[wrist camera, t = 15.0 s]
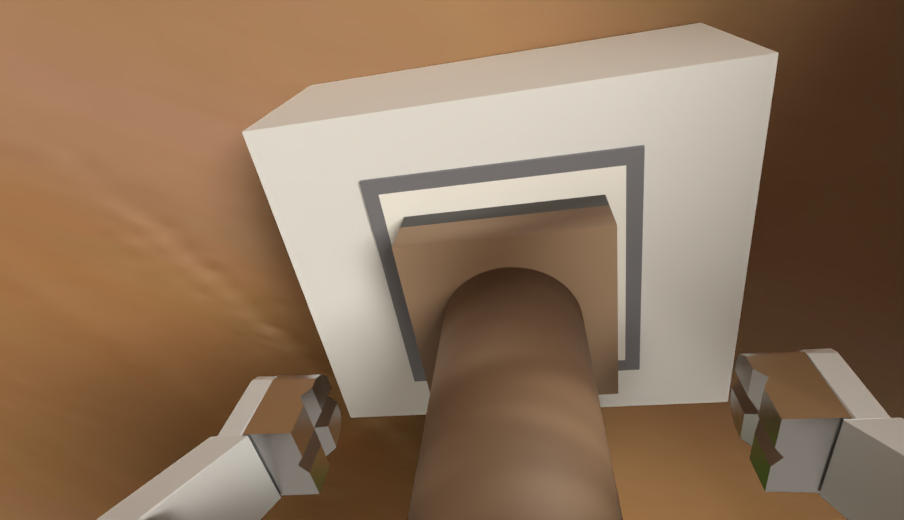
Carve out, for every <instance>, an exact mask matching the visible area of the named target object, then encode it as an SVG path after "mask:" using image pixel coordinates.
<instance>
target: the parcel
mask: <svg viewBox="0 0 904 520" xmlns="http://www.w3.org/2000/svg"><path fill="white" fill-rule="evenodd" d="M778 54H779V53H778V52H776V51H773V50H770V49H768V48H765V47H763V46H760V45H758V44H755V43H752V42H750V41H747V40H745V39H742V38H740V37H737V36H734V35H732V34H729V33H727V32H724V31H721V30H719V29H716V28H714V27H711V26H709V25H706V24H703V23H695V24H689V25H683V26H677V27H670V28H664V29H658V30H652V31H645V32H639V33H633V34H627V35H620V36H614V37H608V38H602V39H596V40H589V41H583V42H577V43H571V44H564V45H558V46H552V47H546V48H540V49H533V50H527V51H521V52H515V53H508V54H502V55H496V56H490V57H483V58H477V59H471V60H465V61H459V62H452V63H446V64H440V65H434V66H427V67H421V68H415V69H409V70H403V71H396V72H390V73H384V74H378V75H371V76H365V77H359V78H353V79H347V80H340V81H334V82H328V83H322V84H315V85H310V86H309V87H307V88H306V89H304V90H303V91H301V92H300V93H298V94H297V95H295V96H294V97H293V98H291V99H290V100H288V101H287V102H285V103H284V104H282V105H281V106H279V107H278V108H276V109H275V110H273V111H272V112H271V113H269V114H268V115H266V116H265V117H263V118H262V119H260V120H259V121H257V122H256V123H254V124H253V125H251V126H250V127H248V128H247V129H246V130H244V131H243V132H242V133H243V136H244V139H245V141H246V144H247V147H248V149H249V152H250V154H251V157H252V160H253V162H254V165H255V168H256V170H257V173H258V175H259V178H260V181H261V183H262V186H263V189H264V191H265V194H266V196H267V199H268V202H269V204H270V207H271V210H272V212H273V215H274V217H275V220H276V223H277V225H278V228H279V231H280V233H281V236H282V238H283V241H284V244H285V246H286V249H287V252H288V254H289V257H290V259H291V262H292V265H293V267H294V270H295V273H296V275H297V278H298V280H299V283H300V286H301V288H302V291H303V294H304V296H305V299H306V301H307V304H308V307H309V309H310V312H311V315H312V317H313V320H314V322H315V325H316V328H317V330H318V333H319V336H320V338H321V341H322V343H323V346H324V349H325V351H326V354H327V357H328V359H329V362H330V364H331V367H332V370H333V372H334V375H335V378H336V380H337V383H338V385H339V388H340V391H341V393H342V396H343V399H344V401H345V404H346V406H347V409H348V412H349V414H350V417H351V418H355V417H379V416H402V415H426V413H427V408H428V402H429V397H430V391H429V388H428V384H427V380H426V376H425V372H424V369H423V365H422V361H421V357H420V353H419V350H418V346H417V342H416V338H415V334H414V330H413V327H412V323H411V319H410V315H409V311H408V308H407V304H406V300H405V296H404V292H403V289H402V285H401V281H400V277H399V273H398V270H397V266H396V262H395V258H394V254H393V251H392V246H393V244H394V241H395V239H396V236H397V234H398V231H399V229H400V226H401V224H402V221H403V219H404V217H408V216H417V215H426V214H435V213H444V212H453V211H462V210H471V209H480V208H489V207H498V206H507V205H516V204H525V203H534V202H543V201H551V200H560V199H569V198H578V197H587V196H596V195H606V198H607V200H608V203H609V205H610V208H611V211H612V213H613V216H614V218H615V221H616V224H617V280H618V394H603V395H598V396H599V401H600V406H601V407H617V406H640V405H664V404H688V403H712V402H728V397H729V390H730V383H731V376H732V369H733V362H734V356H735V349H736V342H737V335H738V328H739V321H740V315H741V308H742V301H743V294H744V287H745V280H746V273H747V267H748V260H749V253H750V246H751V239H752V232H753V226H754V219H755V212H756V205H757V198H758V191H759V184H760V178H761V171H762V164H763V157H764V150H765V143H766V137H767V130H768V123H769V116H770V109H771V102H772V96H773V89H774V82H775V75H776V68H777V61H778Z"/></svg>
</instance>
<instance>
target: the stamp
mask: <svg viewBox="0 0 904 520" xmlns="http://www.w3.org/2000/svg"><path fill="white" fill-rule="evenodd" d="M392 251H393V254H394V258H395V262H396V266H397V270H398V273H399V277H400V281H401V285H402V289H403V292H404V296H405V300H406V304H407V308H408V311H409V315H410V319H411V323H412V327H413V330H414V334H415V338H416V342H417V346H418V350H419V353H420V357H421V361H422V365H423V369H424V372H425V376H426V380H427V384H428V388H429V391H430V397H429V402H428V408H427V413H426V419H425V424H424V430H423V435H422V441H421V446H420V452H419V457H418V463H417V468H416V474H415V479H414V485H413V490H412V496H411V501H410V507H409V512H408V518H407V520H623V518H622V513H621V508H620V503H619V498H618V493H617V488H616V483H615V478H614V472H613V467H612V462H611V457H610V452H609V447H608V442H607V437H606V432H605V427H604V421H603V416H602V411H601V406H600V401H599V396H598V395H603V394H618V280H617V224H616V221H615V218H614V216H613V213H612V211H611V208H610V205H609V203H608V200H607V198H606V195H596V196H587V197H578V198H569V199H560V200H551V201H543V202H534V203H525V204H516V205H507V206H498V207H489V208H480V209H471V210H462V211H453V212H444V213H435V214H426V215H417V216H408V217H404V219H403V221H402V224H401V226H400V229H399V231H398V234H397V236H396V239H395V241H394V244H393V246H392Z"/></svg>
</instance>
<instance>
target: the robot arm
mask: <svg viewBox="0 0 904 520" xmlns="http://www.w3.org/2000/svg"><path fill="white" fill-rule="evenodd" d="M734 370H735V372H736V374H737V376H738V378H739V381H738V382H737V383H736V384H735V385H734V386H733V387H732V389H731V398H730V403H731V412H732V417H733V421H734V424H735V427H736V429H737V432H738V434H739V436H740V438H741V439H742V440H744V441H745V442H746V443H748V444H749V445H751V446H752V450H751V455H750V460H751V462H752V465H753V467H754V469H755V471H756V473H757V475H758V477H759V479H760V482H761V484H762V486H763V488H764V490H765V492H813V493H820V494H819V495H820V496H821V497H822V498H823V499H824V500H826V501H827V502H828V503H829V504H830V505H831V506H833V507H834V508H835V509H836V510H837V511H838V512H840V513H841V514H842V515H843V516H844V517H846V518H847V519H848V520H904V419H903V418H891V417H890V416H889V415H888V414H887V412H886V411H885V410H884V409H883V407H882V406H881V405H880V404H879V402H878V401H877V400H876V399H875V398H874V396H873V395H872V394H871V393H870V391H869V390H868V389H867V388H866V386H865V385H864V384H863V383H862V382H861V380H860V379H859V378H858V377H857V375H856V374H855V373H854V372H853V370H852V369H851V368H850V367H849V366H848V364H847V363H846V362H845V361H844V359H843V358H842V357H841V356H840V354H839V353H838V352H837V351H835V350H833V349H831V348H825V349H809V350H799V351H780V352H762V353H745V354H739V356H738V357H737V359H736V364H735V369H734ZM330 389H331V386H330V384H329V381H328V379H327V377H326V376H324V375H281V376H258V377H256V378H255V379H253V380H252V381H251V382H250V384H249V385H248V387H247V389H246V390H245V392H244V394H243V395H242V397H241V398H240V400H239V402H238V403H237V405H236V407H235V408H234V410H233V411H232V413H231V415H230V416H229V418H228V420H227V421H226V423H225V424H224V426H223V428H222V429H221V431H220V433H219V434H218V436H214V437H209V438H208V439H207V440H205V441H204V442H202V443H201V444H200V445H198V446H197V447H196V448H194V449H193V450H191V451H190V452H189V453H187V454H186V455H185V456H183V457H182V458H180V459H179V460H178V461H176V462H175V463H173V464H172V465H171V466H169V467H168V468H167V469H165V470H164V471H162V472H161V473H160V474H158V475H157V476H156V477H154V478H153V479H151V480H150V481H149V482H147V483H146V484H144V485H143V486H142V487H140V488H139V489H138V490H136V491H135V492H133V493H132V494H131V495H129V496H128V497H127V498H125V499H124V500H122V501H121V502H120V503H118V504H117V505H115V506H114V507H113V508H111V509H110V510H109V511H107V512H106V513H104V514H103V515H102V516H100V517H99V518H98V519H97V520H261V519H262V518H263V517H264V515H265V514H266V513H267V512H268V511H269V510H270V509H271V508H272V507H273V506H274V505H275V504H276V503H277V501H278V500H279V499H280V498H281V496H280V495H307V494H320V491H321V489H322V486H323V483H324V480H325V478H326V475H327V472H328V469H329V467H330V465H329V462H328V460H327V457H326V456H327V455H328V454H329V453H331V452H332V451H333V450H334V449H335V448H336V447H337V444H338V441H339V438H340V434H341V424H342V420H341V413H340V409H339V407H338V404H337V402H336V401H334V400H333V399H332V398H330V397H329V396H328V394H329V392H330Z"/></svg>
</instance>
